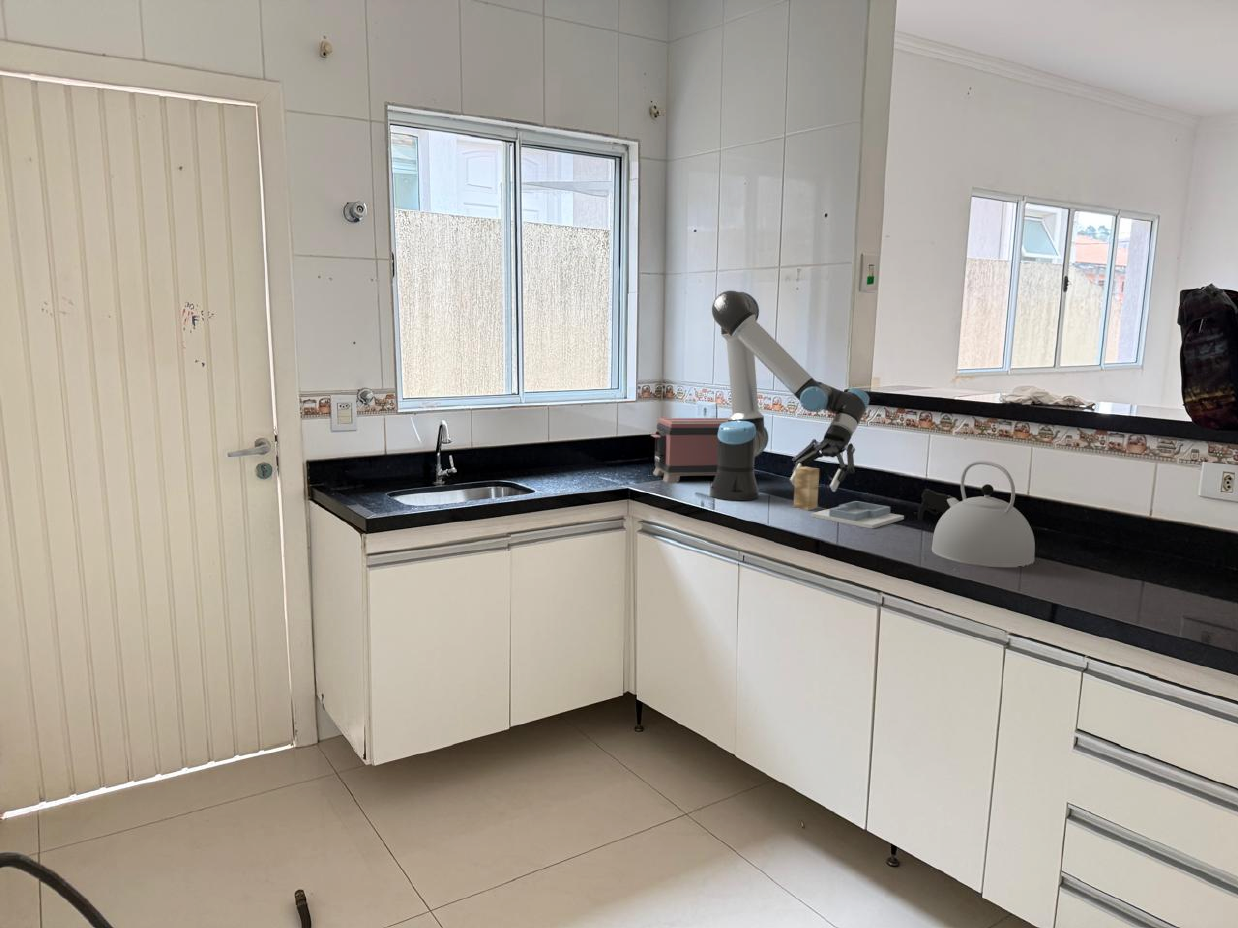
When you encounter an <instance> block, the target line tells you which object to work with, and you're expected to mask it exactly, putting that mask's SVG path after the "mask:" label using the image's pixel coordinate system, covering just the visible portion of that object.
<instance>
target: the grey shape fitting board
mask: <svg viewBox="0 0 1238 928" xmlns="http://www.w3.org/2000/svg"><path fill="white" fill-rule="evenodd" d="M810 517H811V518H816V519H820V520H826V521H831V522H836V523H840V524H841V523H842V524H846V525H851V526H856V527H860V528H861V527H862V528H866V529H867V528H868V529H875V528H879V527H882V526H886V525H889V524H893V523H896V522H899V521H903V520H904V519H905V515H903V514H902V515H901V514H897V513H896V514H895V513H891V506H888V505H881V504H875V503H870V502H864V501H858V500H853V501H849V502H846V503H842V504H838V506H836V507H831V508H827V509H823V510H819V511H816V512H811V514H810Z"/></svg>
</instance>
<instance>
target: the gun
mask: <svg viewBox="0 0 1238 928" xmlns="http://www.w3.org/2000/svg"><path fill="white" fill-rule="evenodd" d="M920 496H921V498H922V502H921V504H920V505H919V507H918V511H917V519H918V521H920V522H924V521H923V520H924V519H923V517H924V514H925V511H927V512H930V513H931V514H933V515H939V514H940V513H942V514H944V513H945V512H946V511H947V510H948V509H949V508H951V507H950V505H949V503H948V501H947V499H950V498H954V497H953V496H951V495H949V494H948V495H947V494H945V493H939V492H935V491H933V490H932V489H929V488H925V489H924V490H923V491H922V493H921V495H920ZM958 501H959V502H961V501H960V500H958ZM928 507H929V508H928ZM932 508H934V509H935V510H936V512H935V511H934V510H932Z"/></svg>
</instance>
